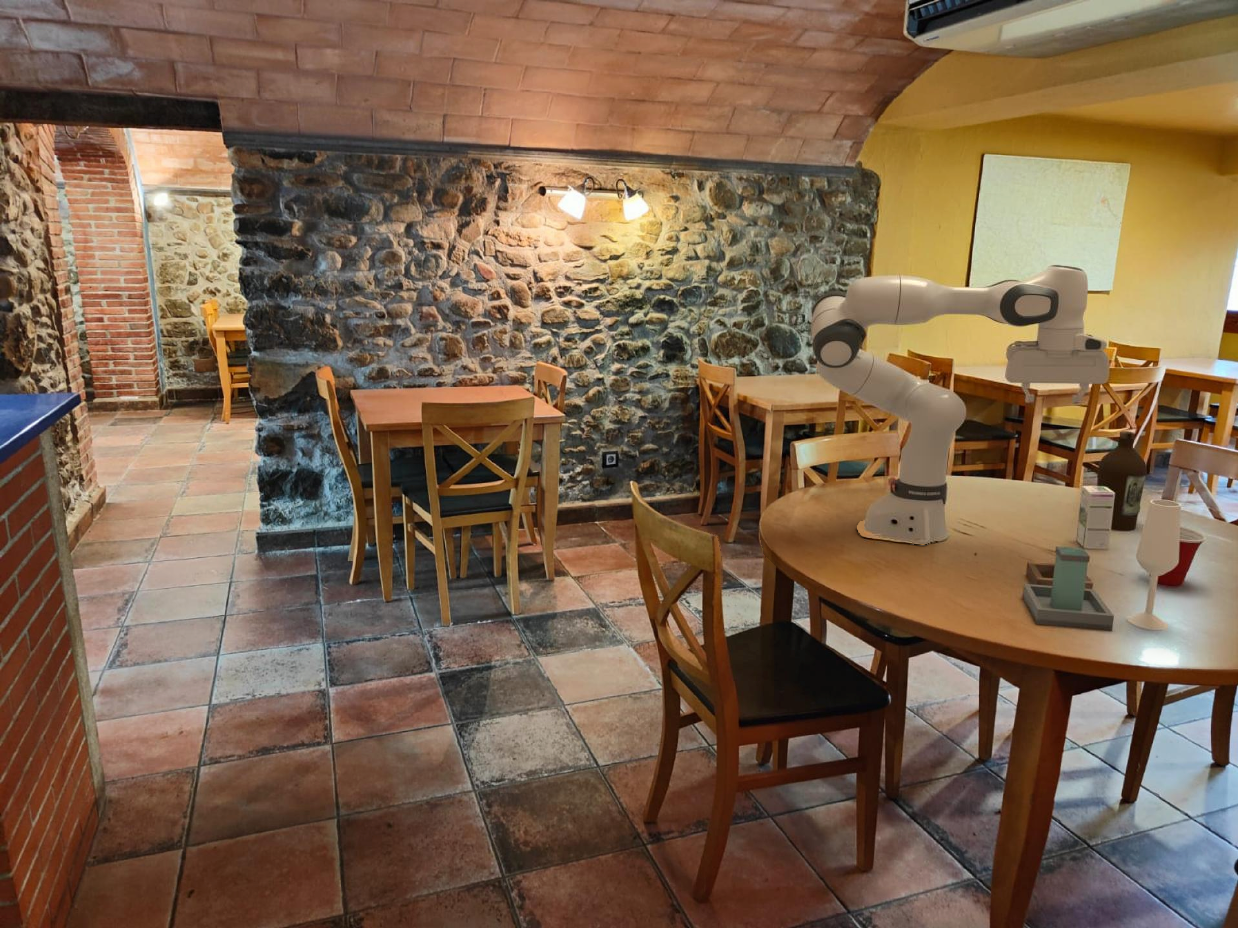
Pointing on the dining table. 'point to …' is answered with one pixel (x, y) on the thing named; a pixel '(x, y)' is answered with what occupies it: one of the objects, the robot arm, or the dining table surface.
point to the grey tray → (1089, 617)
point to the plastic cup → (1183, 557)
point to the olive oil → (1123, 481)
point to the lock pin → (1069, 578)
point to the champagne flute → (1157, 554)
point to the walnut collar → (1046, 574)
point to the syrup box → (1095, 517)
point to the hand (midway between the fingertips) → (1052, 403)
